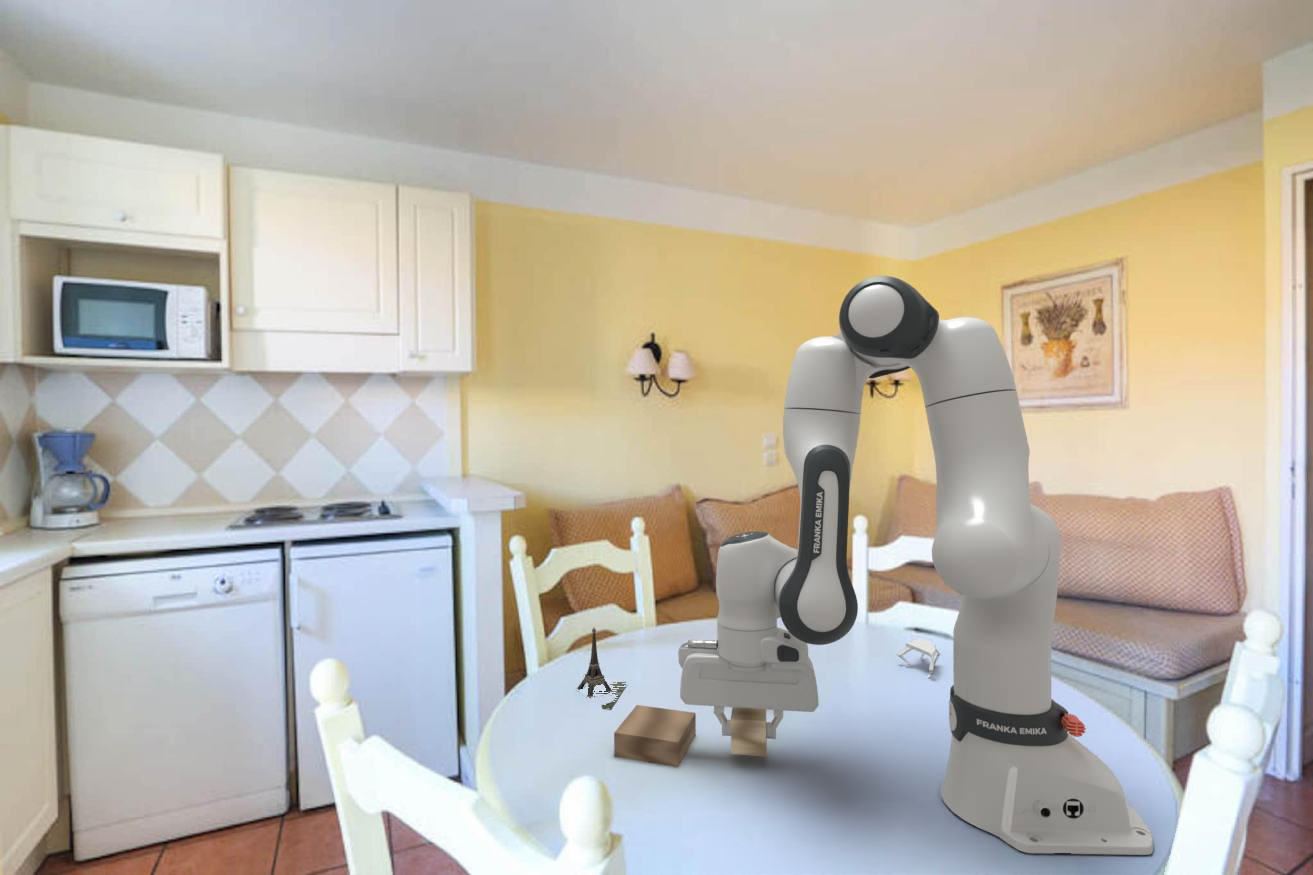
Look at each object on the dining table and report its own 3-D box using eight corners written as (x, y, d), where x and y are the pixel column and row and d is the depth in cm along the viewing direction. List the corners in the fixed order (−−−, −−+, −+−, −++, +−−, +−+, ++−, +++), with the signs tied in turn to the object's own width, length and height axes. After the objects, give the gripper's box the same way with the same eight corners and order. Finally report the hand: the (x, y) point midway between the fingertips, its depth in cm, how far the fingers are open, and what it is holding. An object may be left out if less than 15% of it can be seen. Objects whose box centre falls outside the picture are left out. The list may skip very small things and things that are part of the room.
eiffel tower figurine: (612, 713, 109) (611, 637, 109) (557, 709, 111) (556, 634, 111) (632, 680, 124) (631, 613, 124) (583, 677, 126) (582, 611, 125)
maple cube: (766, 739, 94) (766, 706, 94) (766, 756, 89) (765, 721, 89) (733, 737, 95) (732, 704, 95) (731, 753, 90) (730, 719, 90)
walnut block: (695, 737, 100) (695, 712, 100) (678, 769, 90) (678, 742, 90) (637, 729, 103) (636, 704, 103) (614, 759, 93) (614, 732, 93)
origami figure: (889, 660, 132) (889, 637, 132) (927, 659, 133) (927, 636, 133) (918, 682, 120) (917, 657, 120) (959, 681, 121) (959, 655, 121)
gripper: (674, 645, 91) (676, 740, 91) (818, 652, 87) (820, 750, 87) (681, 633, 97) (683, 721, 97) (815, 638, 93) (817, 730, 93)
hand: (749, 735), depth 92 cm, fingers closed on maple cube, 5 cm apart
